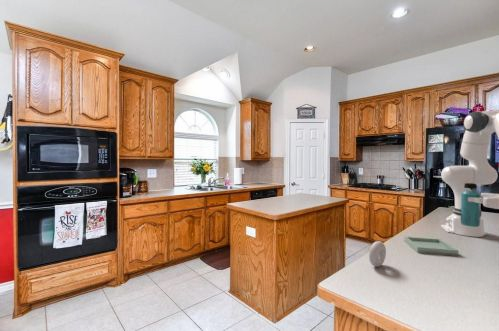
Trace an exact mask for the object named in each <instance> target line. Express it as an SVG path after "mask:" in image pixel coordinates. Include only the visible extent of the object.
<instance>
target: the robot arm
mask: <svg viewBox="0 0 499 331" xmlns="http://www.w3.org/2000/svg"><path fill="white" fill-rule="evenodd" d="M463 128H464V129H465V131H464V134H463V137H462V141H461V146H460V151H459V154H460V157H462V158H463V159H464V160H467V161H468V165H451V166H445V167H444V168H443V169H442V171H441V173H440V177H441V180H442V182H444V183H446V184H447V185H448V187H450V188H451V189H452V191H453V192H452V193H453V195H454V207H453V209H452V213H451V214H450V215H449V216H447V217H446V218H445V219H444V223H445V224H441V225H440V227H441V228H442V229H443V230H444V231H446V232H448V233H452V234H456V235H460V236H465V237H476V238H478V237H481V238H482V237H484V236H486V235H487V232H485V225H484V224H485V223H484V219H482V210H481V209H480V225H479V227H472V226H466V225H462V224H461V193H462V192H463V191H472V188H464V186H465V183H473V184H476V186H485V185H491V184H494V183H495V182H496V181H497V179H498V176H499V175H498V172H497V170H496V169H495V168H494V167H492V165H490V163H489V161H488V150H489V145H490V140H491V135H492V134H494V133H495V134H496V136H497V138H498V139H499V109H491V110H483V111H472V112H469V113H468V114H466V116H464V119H463ZM468 201H469V202H476V203H480V205H481V204H482V205H483V207H485V208H490V209H494V210H499V193H491V192H481V193H480V198H473V197H468Z"/></svg>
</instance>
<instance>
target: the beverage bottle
mask: <svg viewBox="0 0 499 331" xmlns="http://www.w3.org/2000/svg"><path fill="white" fill-rule="evenodd" d="M477 186H478V185H476V184H473V183H465V186H464V188H470V189H471V191H463V192H462V193H461V224H462V225H466V226H472V227H479V225H480V210H481V204H480V203H476V202H469V201H468V197H473V198H480V195H481V193H480V192H478V191H476V190H475V189H477ZM472 189H474V190H472Z"/></svg>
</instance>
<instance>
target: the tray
mask: <svg viewBox="0 0 499 331" xmlns="http://www.w3.org/2000/svg"><path fill="white" fill-rule="evenodd" d="M403 242H405V243H406V244H407V246H409V247H410V248H411V249H412V250H414V252H416V253H418V254H428V255H429V254H430V255H441V256H442V255H443V256H455V257H458V256H459V249H457V248H455V247H454V246H452V245H451V244H449V243H447V242H446V241H444V240H443V239H441V238H433V237H416V236H404V238H403Z"/></svg>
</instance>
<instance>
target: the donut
mask: <svg viewBox="0 0 499 331" xmlns="http://www.w3.org/2000/svg"><path fill="white" fill-rule="evenodd" d="M386 255H387V249H386V245H385V243H383V242H382V241H380V240H376V241H374V242H373V243H372V245H371V246H370V249H369V255H368V257H369V262H370V264H371V265H372V266H373V267H376V268H379V267H381V266H382V265H383V264H384V262H385V259H386Z"/></svg>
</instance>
